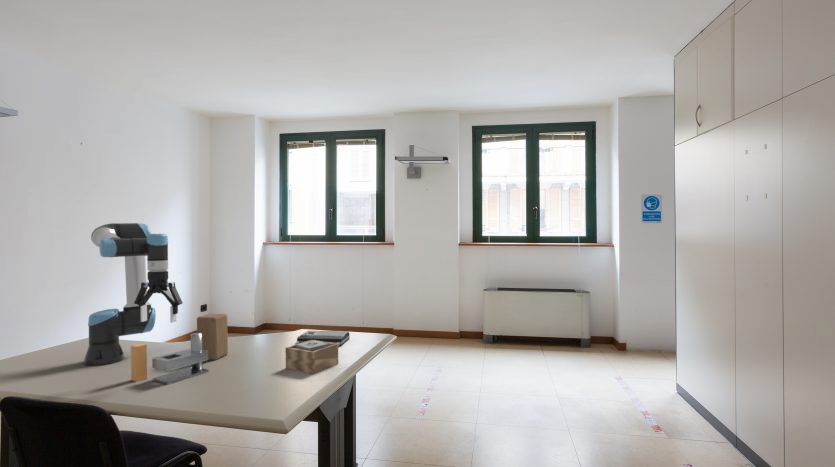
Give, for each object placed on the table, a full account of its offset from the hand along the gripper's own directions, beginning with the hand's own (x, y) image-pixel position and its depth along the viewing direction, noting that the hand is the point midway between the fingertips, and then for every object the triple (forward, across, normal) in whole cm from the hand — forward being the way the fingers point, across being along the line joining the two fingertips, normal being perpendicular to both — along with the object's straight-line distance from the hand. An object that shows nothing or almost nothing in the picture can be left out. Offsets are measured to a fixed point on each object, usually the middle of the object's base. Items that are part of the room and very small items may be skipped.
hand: (158, 321), depth 188 cm
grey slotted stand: (+22, +10, 0) cm, 24 cm away
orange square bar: (+22, -5, -6) cm, 24 cm away
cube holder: (+22, +59, +20) cm, 66 cm away
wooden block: (+23, +6, +28) cm, 36 cm away
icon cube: (+23, +59, +19) cm, 66 cm away
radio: (+23, +49, +59) cm, 80 cm away
